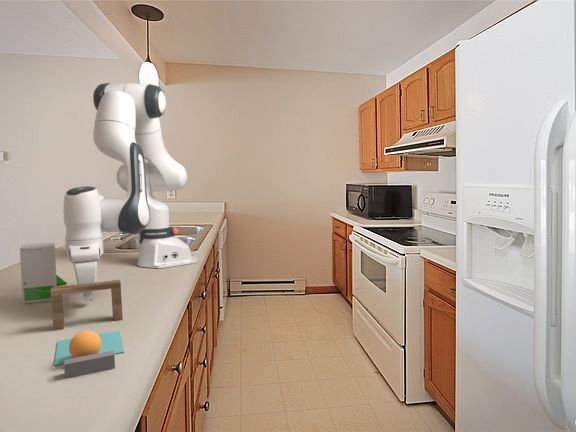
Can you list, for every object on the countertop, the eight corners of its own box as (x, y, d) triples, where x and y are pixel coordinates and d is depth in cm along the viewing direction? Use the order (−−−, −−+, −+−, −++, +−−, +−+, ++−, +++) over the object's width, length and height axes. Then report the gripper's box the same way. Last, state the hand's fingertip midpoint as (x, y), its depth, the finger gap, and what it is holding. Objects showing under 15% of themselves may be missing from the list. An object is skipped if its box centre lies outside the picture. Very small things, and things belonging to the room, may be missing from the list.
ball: (100, 332, 81) (99, 324, 77) (102, 359, 79) (102, 353, 75) (69, 337, 79) (66, 330, 74) (71, 366, 77) (68, 360, 72)
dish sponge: (40, 294, 120) (40, 286, 120) (31, 285, 130) (31, 278, 130) (67, 290, 125) (66, 282, 124) (56, 281, 135) (56, 274, 135)
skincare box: (22, 304, 110) (17, 248, 108) (24, 297, 116) (20, 244, 114) (57, 299, 114) (53, 245, 112) (58, 293, 119) (54, 241, 118)
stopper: (114, 363, 75) (113, 350, 75) (115, 367, 74) (114, 354, 73) (65, 373, 72) (64, 359, 72) (65, 378, 70) (64, 364, 70)
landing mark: (119, 331, 91) (119, 330, 90) (124, 352, 80) (123, 351, 80) (57, 341, 85) (57, 340, 85) (54, 366, 75) (54, 365, 75)
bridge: (54, 326, 94) (51, 287, 93) (121, 315, 100) (119, 279, 99) (53, 330, 91) (50, 290, 90) (122, 319, 98) (120, 282, 97)
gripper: (72, 243, 114) (75, 291, 116) (70, 257, 96) (74, 313, 98) (97, 241, 117) (99, 288, 119) (99, 254, 99) (102, 309, 101)
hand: (88, 299), depth 108 cm, fingers closed
